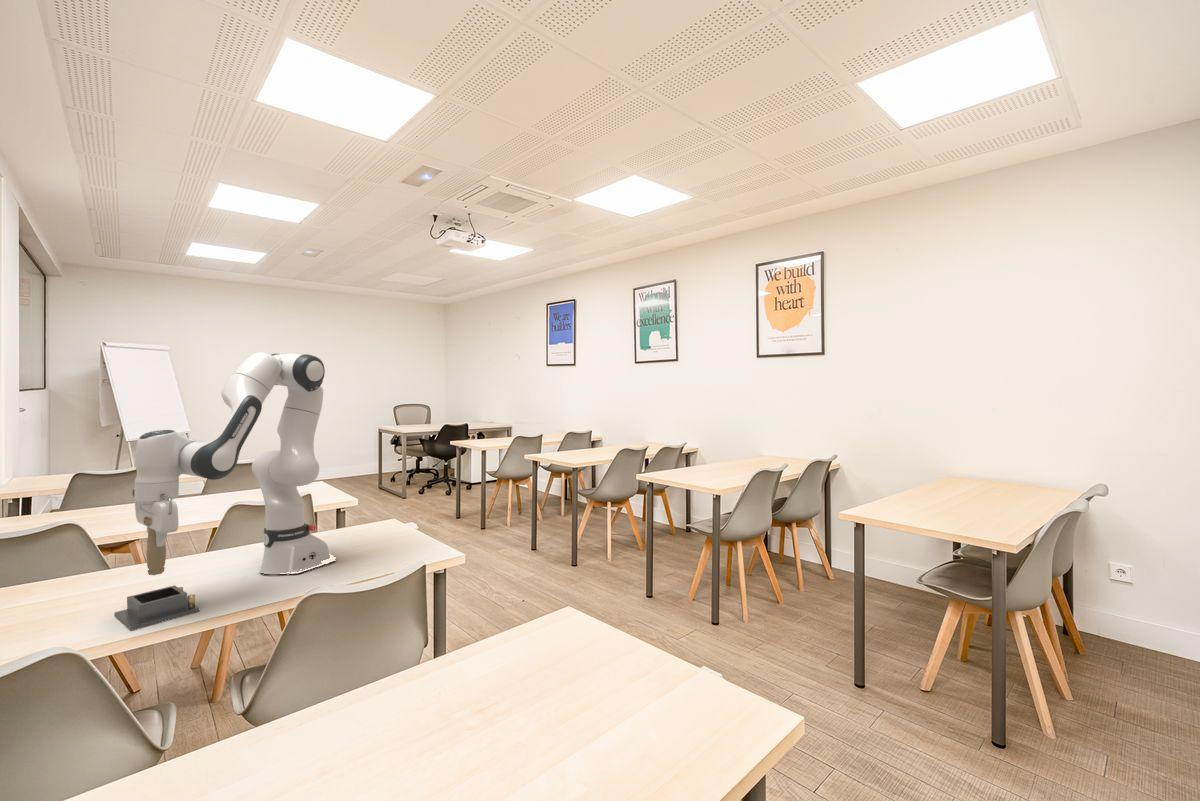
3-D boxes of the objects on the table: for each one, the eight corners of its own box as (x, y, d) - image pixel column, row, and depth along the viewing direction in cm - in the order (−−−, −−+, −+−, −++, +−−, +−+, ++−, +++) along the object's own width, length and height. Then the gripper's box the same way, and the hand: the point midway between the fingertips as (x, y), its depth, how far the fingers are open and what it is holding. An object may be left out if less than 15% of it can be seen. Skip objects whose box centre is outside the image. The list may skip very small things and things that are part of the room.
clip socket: (180, 598, 146) (180, 581, 146) (199, 611, 138) (199, 592, 138) (114, 616, 135) (114, 597, 135) (130, 630, 127) (130, 610, 127)
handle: (147, 578, 132) (147, 520, 132) (141, 573, 136) (141, 516, 136) (171, 573, 136) (171, 517, 136) (164, 568, 140) (164, 513, 140)
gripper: (186, 495, 133) (185, 548, 133) (159, 486, 144) (159, 535, 145) (154, 498, 128) (154, 554, 128) (129, 489, 139) (129, 540, 139)
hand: (156, 544), depth 136 cm, fingers closed on handle, 4 cm apart
